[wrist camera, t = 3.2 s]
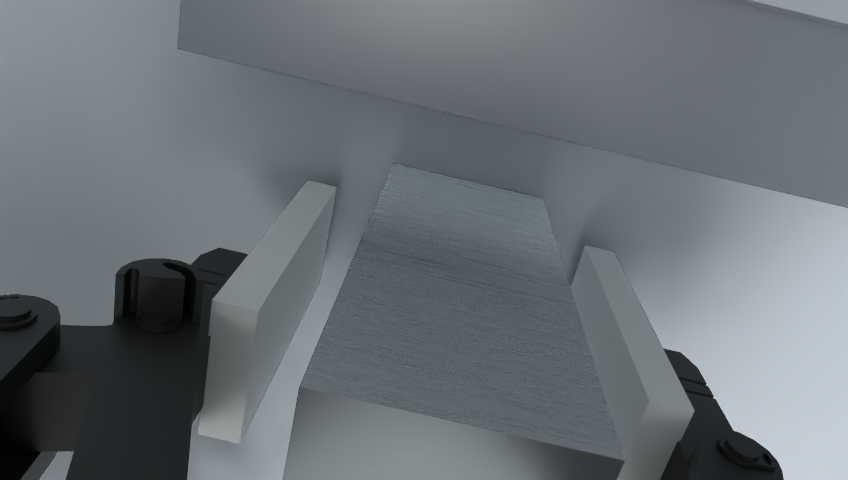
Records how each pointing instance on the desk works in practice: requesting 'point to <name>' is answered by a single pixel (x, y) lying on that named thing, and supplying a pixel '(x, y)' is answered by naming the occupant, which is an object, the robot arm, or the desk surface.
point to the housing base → (582, 72)
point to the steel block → (453, 349)
